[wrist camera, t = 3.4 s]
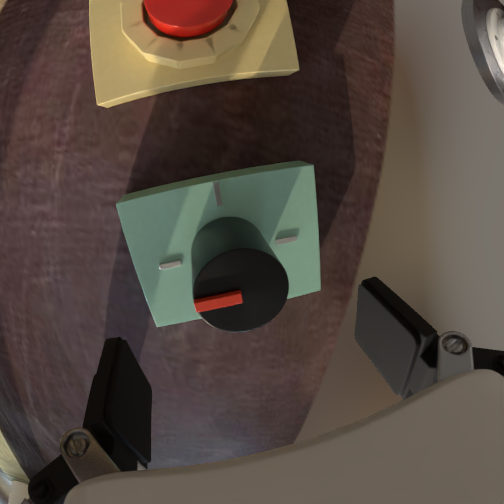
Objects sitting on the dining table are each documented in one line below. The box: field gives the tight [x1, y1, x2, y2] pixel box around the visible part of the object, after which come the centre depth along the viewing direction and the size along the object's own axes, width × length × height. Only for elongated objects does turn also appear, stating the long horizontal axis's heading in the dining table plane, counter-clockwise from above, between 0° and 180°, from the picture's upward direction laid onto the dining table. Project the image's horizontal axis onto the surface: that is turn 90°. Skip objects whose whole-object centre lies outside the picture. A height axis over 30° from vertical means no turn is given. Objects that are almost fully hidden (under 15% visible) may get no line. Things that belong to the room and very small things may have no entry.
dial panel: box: [116, 160, 321, 327], centre depth 19 cm, size 12×9×3 cm
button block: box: [89, 0, 299, 108], centre depth 12 cm, size 12×9×4 cm
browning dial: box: [191, 217, 289, 332], centre depth 16 cm, size 5×5×5 cm
